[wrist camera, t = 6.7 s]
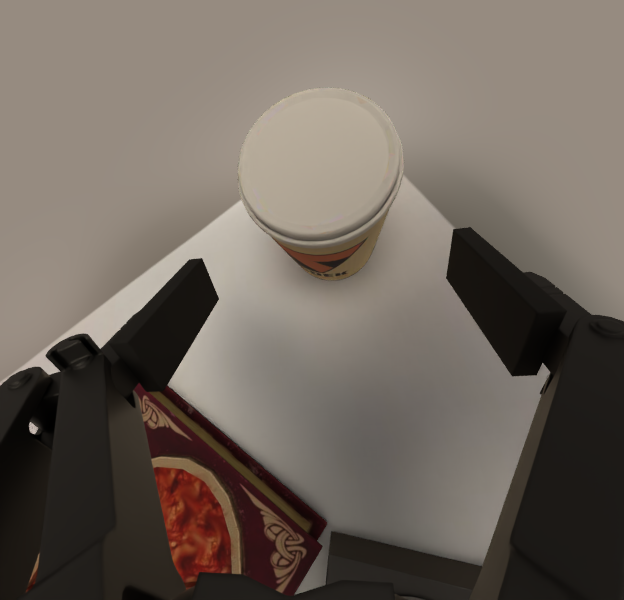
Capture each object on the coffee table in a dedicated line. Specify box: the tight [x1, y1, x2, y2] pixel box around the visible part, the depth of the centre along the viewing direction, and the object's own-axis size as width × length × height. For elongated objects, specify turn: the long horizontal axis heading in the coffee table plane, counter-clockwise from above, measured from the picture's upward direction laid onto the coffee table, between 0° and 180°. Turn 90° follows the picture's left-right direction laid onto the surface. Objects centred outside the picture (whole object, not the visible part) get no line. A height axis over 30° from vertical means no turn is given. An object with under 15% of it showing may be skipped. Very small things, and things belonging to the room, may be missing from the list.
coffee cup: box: [238, 88, 404, 280], centre depth 20 cm, size 9×9×12 cm
